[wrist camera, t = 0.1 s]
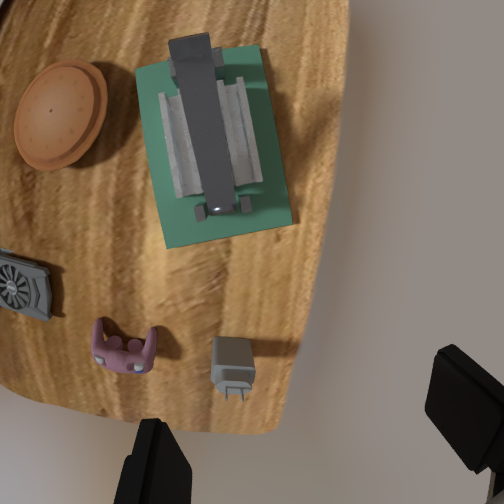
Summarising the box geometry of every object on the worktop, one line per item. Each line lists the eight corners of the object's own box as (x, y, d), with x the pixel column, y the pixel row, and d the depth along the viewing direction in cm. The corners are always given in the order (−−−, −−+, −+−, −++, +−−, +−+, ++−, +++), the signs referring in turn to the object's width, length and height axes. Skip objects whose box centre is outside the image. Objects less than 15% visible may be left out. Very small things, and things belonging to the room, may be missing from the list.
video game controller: (101, 331, 42) (89, 369, 36) (94, 313, 39) (80, 354, 33) (160, 341, 43) (153, 382, 37) (158, 324, 40) (149, 367, 35)
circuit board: (137, 72, 32) (135, 69, 31) (257, 48, 33) (258, 44, 32) (168, 247, 38) (166, 249, 37) (290, 222, 39) (292, 224, 37)
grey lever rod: (169, 39, 18) (167, 42, 17) (207, 31, 18) (209, 33, 17) (209, 211, 32) (210, 223, 31) (236, 206, 32) (239, 217, 31)
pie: (103, 177, 35) (87, 178, 30) (19, 166, 33) (-1, 166, 28) (131, 67, 32) (119, 54, 27) (43, 68, 30) (27, 59, 25)
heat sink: (159, 77, 32) (148, 61, 26) (238, 61, 32) (240, 43, 26) (184, 219, 36) (176, 226, 31) (264, 203, 37) (272, 207, 31)
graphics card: (-21, 314, 34) (-29, 247, 32) (-9, 305, 38) (-16, 242, 35) (50, 341, 37) (44, 267, 34) (60, 329, 40) (57, 260, 38)
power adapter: (213, 335, 42) (211, 388, 30) (251, 339, 42) (260, 391, 31) (211, 353, 42) (209, 408, 31) (248, 356, 43) (256, 411, 31)
